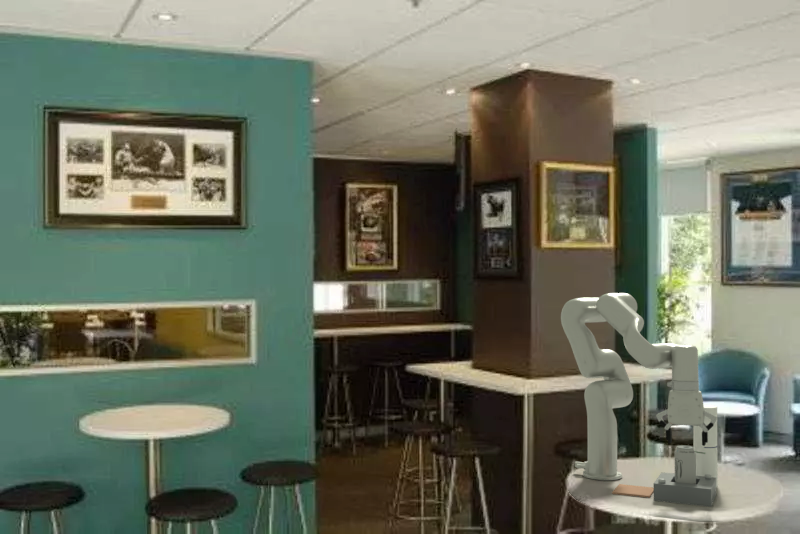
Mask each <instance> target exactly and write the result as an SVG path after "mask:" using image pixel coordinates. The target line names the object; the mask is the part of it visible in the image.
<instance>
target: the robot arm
mask: <svg viewBox="0 0 800 534" xmlns="http://www.w3.org/2000/svg"><path fill="white" fill-rule="evenodd" d="M637 311H638V303H637V300H636V299H635V298H634V297H633V296H632V295H631V294H630V293H626V292H619V293H618V292H609V293H608V292H607V293H605V294H602V295H600V296H599V297H576V298H573V299H570V300H568V301H566V302H565V303H564V305H563V307H562V309H561V313H560V322H561V326H562V328H563V331H564V334H565V336H566V337H567V340H568V342H569V344H570V347H571V350H572V353H573V356H574V359H575V362H576V364H577V366H578V370H579V372H580V374H581V376H582V377H584V378H586V379H600V378H601V379H602V380H595V381H592V382H591V383H589V384H588V385H587V386H586V387H585V390H584V404H585V408H586V416H587V419H586V420H587V460H586V461H584V462H582V461H575V462H574V467H575V468H576V469H583V471H582V476H583V477H584V478H588V479H591V480H595V481H596V480H597V481H616V480H620V479H622V477H623V473H622V472H621V471H618V423H617V418H616V415H615V413H614V409H619V408H623V407H628V406H629V405H630V404H632V403H631V402H632V401H633V398H634V389H633V386H632V384H631V381H630V377H629V376H628V372H627V370H626V367H625V365H624V362H623V360H622V358H621V356H620V354H618V353H617V352H616V351H614V350H612V349H608V348H606V349H605V348H603V349H602V348H600V347H599V345H598V343H597V340H596V336H595V335H594V334H593V332H592V331H591V329H589V327H587V325H586V323H605V322H607V323H608V324H609V325H610V326H611V327H612V328H613V329H614V330H616V332H618V333H619V335H621V336H622V337H623V339H622V340H623V344H624V346H625V349H626V351H627V353H628V354H629V356H631V357H632V358H633V359H634V360H635V362H636V361H637V363H638V364H640V365H642V367H644V368H646V369H650V370H654V369H655V370H656V369H669V368H671V381H667V383H666V385H667V387H669V388H671V390H669V391H668V392H669V393H668V399H667V409H665V410H663V411H660V412H658V413H657V414H655V417H656V419H657V421H658V422H659V424H660V426H662V427H663V428H664V430H665V440H666V441H667V442H668V444H671V443H672V442H673V430H672V426H673V425H674V426H675V425H676V426H692V427H693V426H700V427H701V428H702V430H703V431H702V445H703V446H705V444H706V443H708V430H710V429H711V428H712V427H713V425H714V424H715V422H716V420H717V421H718V416H717V417H716V416H714V415H712V414H710V413H708V412H706V411H705V410H704V405H705V404H704V399H703V394H702V391H700V388H699V385H700V384H699V383H700V382H699V381H700V379H699V353H698V351H699V350H698V347H697V346H695V345H693V344H692V345H691V344H676V343H671V342H667V343H662V342H661V343H650V342H649V341H648V340H647V339H646V338H645V337H644V336H643V335H642V334H641V332H642V331H643V329H644V326H645V325H644V324H645V320H644V318H643V317H642V316H641V315H639V313H637ZM666 415H667V421H668V422H666V421H665V420H664V419H663V417H664V416H666ZM704 416H706V417H708V418H710V419H711V422H710V423H709V424H708V425H707V426H706V425H705V423H704Z"/></svg>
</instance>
